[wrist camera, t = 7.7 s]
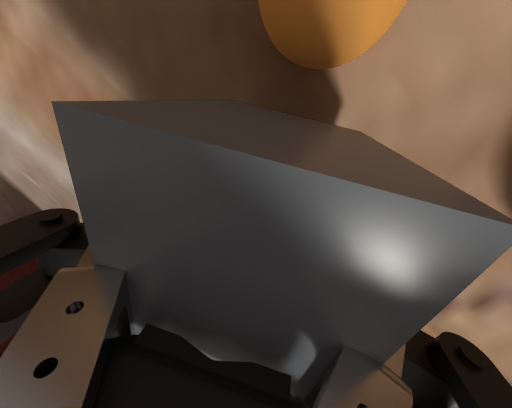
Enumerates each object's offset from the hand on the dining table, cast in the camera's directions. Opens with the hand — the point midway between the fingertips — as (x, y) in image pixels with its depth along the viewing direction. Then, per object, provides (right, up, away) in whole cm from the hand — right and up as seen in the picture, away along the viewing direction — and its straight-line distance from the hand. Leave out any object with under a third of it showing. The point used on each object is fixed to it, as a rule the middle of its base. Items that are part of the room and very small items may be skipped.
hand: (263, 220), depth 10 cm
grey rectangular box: (+1, +1, +2) cm, 2 cm away
